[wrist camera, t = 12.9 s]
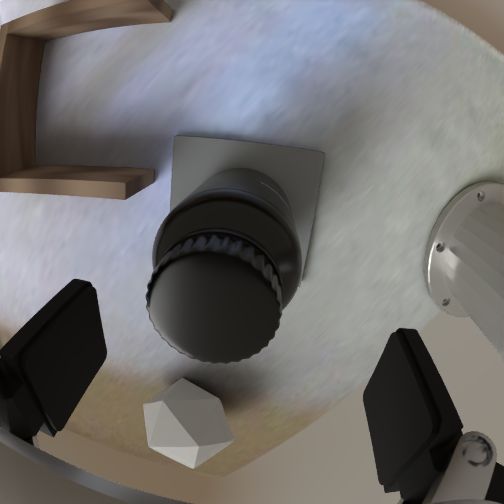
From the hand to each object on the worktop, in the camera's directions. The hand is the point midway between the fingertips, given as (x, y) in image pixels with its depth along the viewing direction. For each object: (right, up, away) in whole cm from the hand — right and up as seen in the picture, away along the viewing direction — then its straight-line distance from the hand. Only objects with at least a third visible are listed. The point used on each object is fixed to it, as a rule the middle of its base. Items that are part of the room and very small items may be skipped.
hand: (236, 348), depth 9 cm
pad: (0, +6, +13) cm, 14 cm away
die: (-6, -12, +21) cm, 25 cm away
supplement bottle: (0, +6, +13) cm, 14 cm away
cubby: (-12, +15, +10) cm, 21 cm away
